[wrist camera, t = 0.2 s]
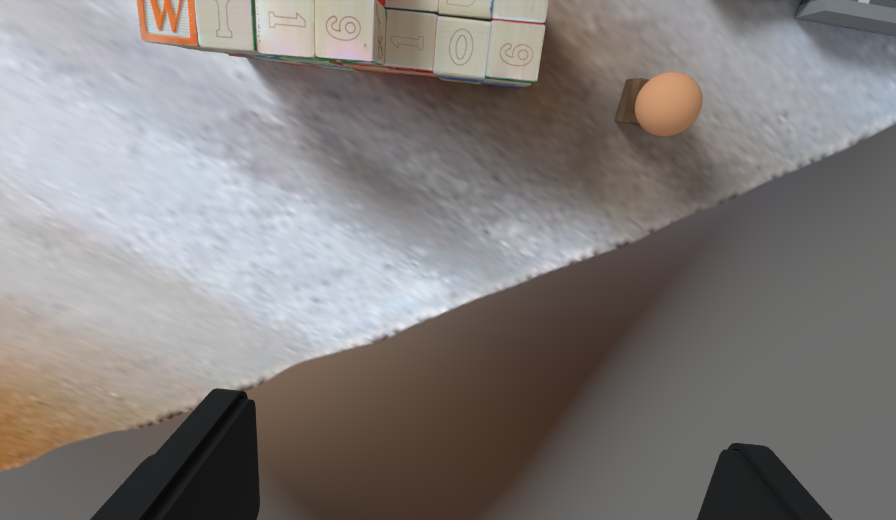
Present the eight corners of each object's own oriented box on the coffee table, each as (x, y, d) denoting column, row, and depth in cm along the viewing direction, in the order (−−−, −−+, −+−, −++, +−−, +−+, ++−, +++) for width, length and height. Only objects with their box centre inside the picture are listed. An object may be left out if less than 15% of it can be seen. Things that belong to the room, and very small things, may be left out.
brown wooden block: (626, 79, 35) (643, 77, 32) (665, 86, 35) (686, 85, 32) (614, 120, 36) (630, 123, 33) (652, 127, 36) (672, 130, 33)
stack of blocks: (534, -3, 34) (569, -57, 22) (521, 89, 36) (546, 84, 24) (240, -35, 34) (119, -105, 22) (243, 59, 36) (135, 40, 24)
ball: (636, 68, 32) (659, 64, 28) (693, 79, 32) (724, 76, 28) (619, 128, 33) (639, 132, 29) (674, 138, 33) (701, 143, 29)
